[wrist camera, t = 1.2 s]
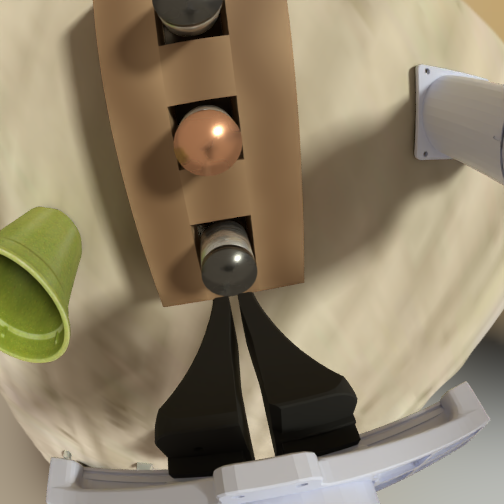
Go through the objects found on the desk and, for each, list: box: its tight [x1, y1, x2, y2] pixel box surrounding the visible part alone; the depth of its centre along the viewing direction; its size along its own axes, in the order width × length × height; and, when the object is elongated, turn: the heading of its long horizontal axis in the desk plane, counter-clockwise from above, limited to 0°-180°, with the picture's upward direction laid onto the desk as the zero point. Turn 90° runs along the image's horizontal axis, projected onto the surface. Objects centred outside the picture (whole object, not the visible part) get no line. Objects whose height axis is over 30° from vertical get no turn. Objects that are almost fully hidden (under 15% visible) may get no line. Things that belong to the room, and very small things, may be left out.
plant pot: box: [0, 207, 82, 363], centre depth 17 cm, size 9×9×9 cm
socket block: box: [93, 0, 304, 307], centre depth 17 cm, size 10×22×4 cm, turn 6°
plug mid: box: [174, 105, 242, 176], centre depth 14 cm, size 3×3×4 cm
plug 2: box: [200, 220, 257, 296], centre depth 18 cm, size 3×3×4 cm
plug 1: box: [152, 0, 223, 37], centre depth 11 cm, size 3×3×4 cm
